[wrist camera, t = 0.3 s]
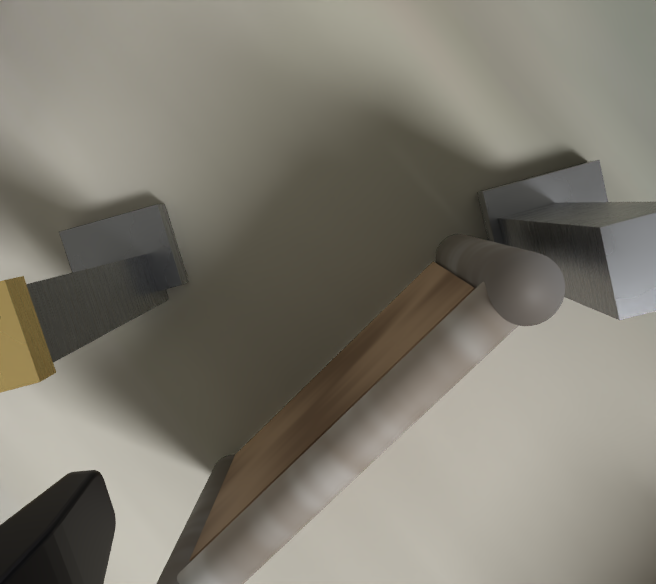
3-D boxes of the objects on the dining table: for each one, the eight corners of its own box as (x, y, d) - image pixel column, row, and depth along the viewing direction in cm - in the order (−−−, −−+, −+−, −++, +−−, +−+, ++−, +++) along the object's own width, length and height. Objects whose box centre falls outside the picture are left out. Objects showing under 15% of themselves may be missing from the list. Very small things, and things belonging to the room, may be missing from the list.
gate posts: (573, 89, 23) (779, -14, 12) (611, 271, 24) (835, 326, 13) (70, 230, 25) (-153, 252, 14) (125, 398, 26) (-42, 546, 15)
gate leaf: (460, 224, 23) (529, 236, 15) (492, 257, 24) (580, 289, 15) (203, 475, 25) (127, 621, 16) (235, 505, 25) (177, 665, 16)
